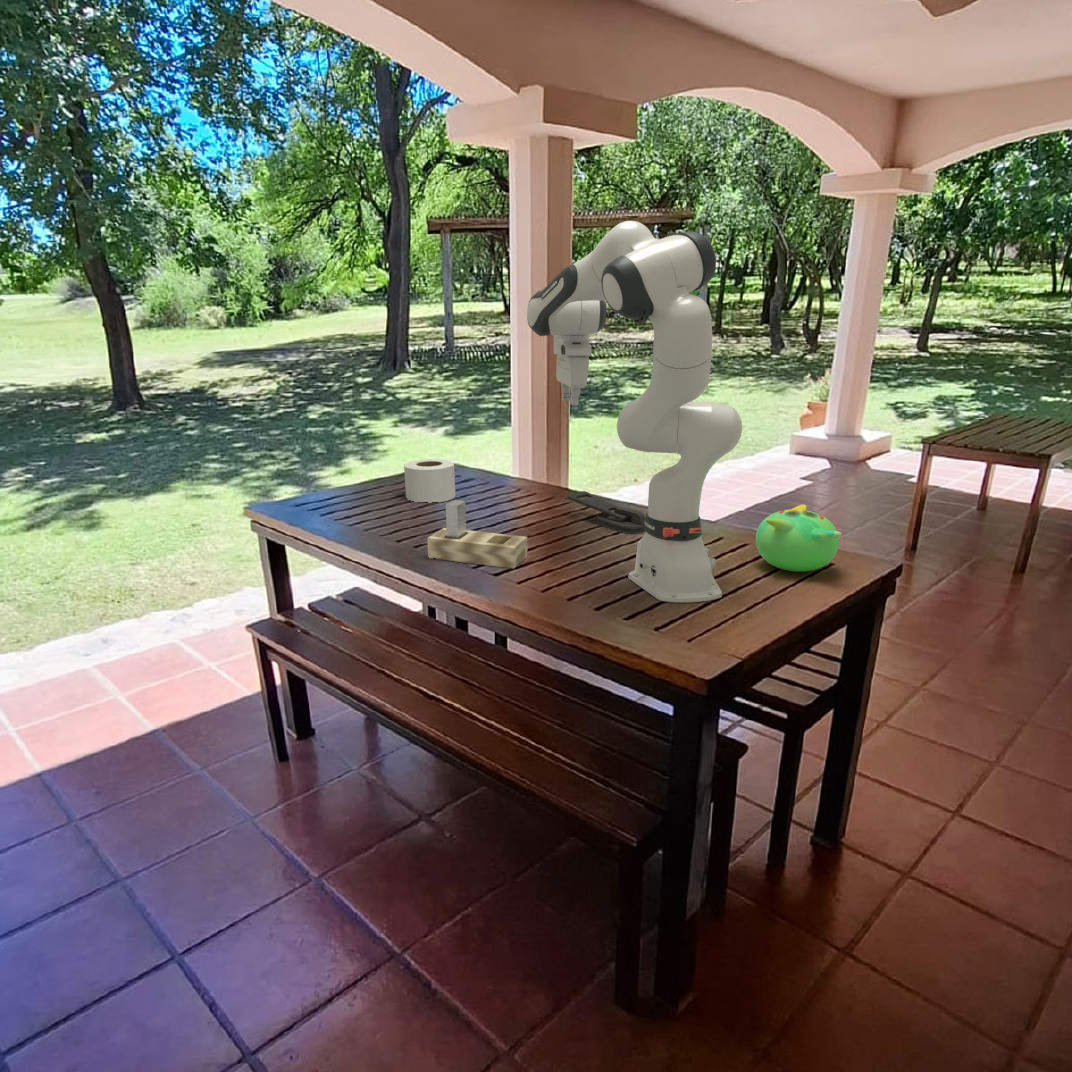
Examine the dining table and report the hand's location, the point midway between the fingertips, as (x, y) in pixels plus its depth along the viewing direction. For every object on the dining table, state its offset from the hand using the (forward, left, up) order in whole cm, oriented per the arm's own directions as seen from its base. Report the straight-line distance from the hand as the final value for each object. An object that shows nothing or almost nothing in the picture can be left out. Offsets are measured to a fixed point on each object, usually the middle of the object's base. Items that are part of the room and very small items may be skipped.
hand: (570, 402), depth 189 cm
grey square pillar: (-15, +31, -34) cm, 48 cm away
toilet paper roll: (+42, +35, -34) cm, 65 cm away
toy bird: (-38, -45, -34) cm, 68 cm away
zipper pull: (+5, -12, -34) cm, 37 cm away
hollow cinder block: (-18, +26, -34) cm, 46 cm away
